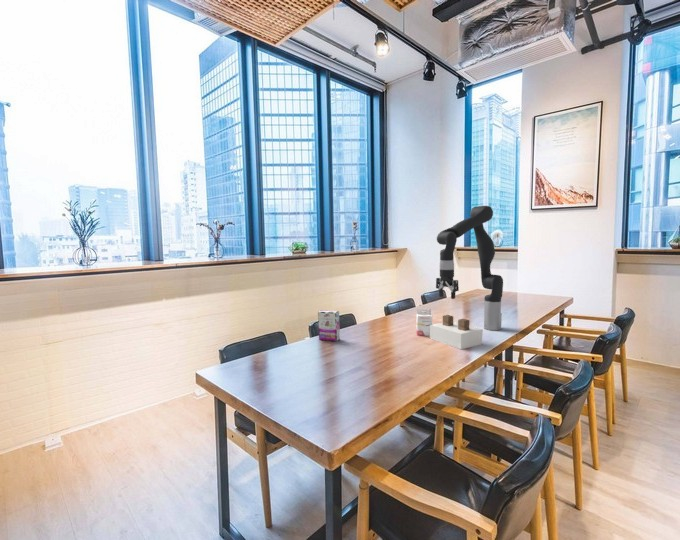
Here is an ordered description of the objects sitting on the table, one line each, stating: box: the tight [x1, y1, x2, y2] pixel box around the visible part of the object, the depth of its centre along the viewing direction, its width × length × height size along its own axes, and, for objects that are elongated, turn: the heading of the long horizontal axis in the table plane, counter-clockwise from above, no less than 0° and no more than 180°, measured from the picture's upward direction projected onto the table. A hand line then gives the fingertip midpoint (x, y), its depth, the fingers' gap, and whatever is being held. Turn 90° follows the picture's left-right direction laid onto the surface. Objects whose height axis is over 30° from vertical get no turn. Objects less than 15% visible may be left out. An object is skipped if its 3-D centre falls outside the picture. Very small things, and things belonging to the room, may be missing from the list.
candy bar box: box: [317, 309, 341, 342], centre depth 200 cm, size 11×5×16 cm, turn 68°
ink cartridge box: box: [415, 308, 433, 337], centre depth 206 cm, size 9×5×15 cm, turn 84°
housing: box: [429, 321, 484, 350], centre depth 192 cm, size 16×22×8 cm
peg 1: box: [442, 314, 454, 326], centre depth 196 cm, size 4×4×7 cm
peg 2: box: [457, 318, 470, 331], centre depth 187 cm, size 4×4×7 cm
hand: (447, 297), depth 194 cm, fingers open, 8 cm apart
